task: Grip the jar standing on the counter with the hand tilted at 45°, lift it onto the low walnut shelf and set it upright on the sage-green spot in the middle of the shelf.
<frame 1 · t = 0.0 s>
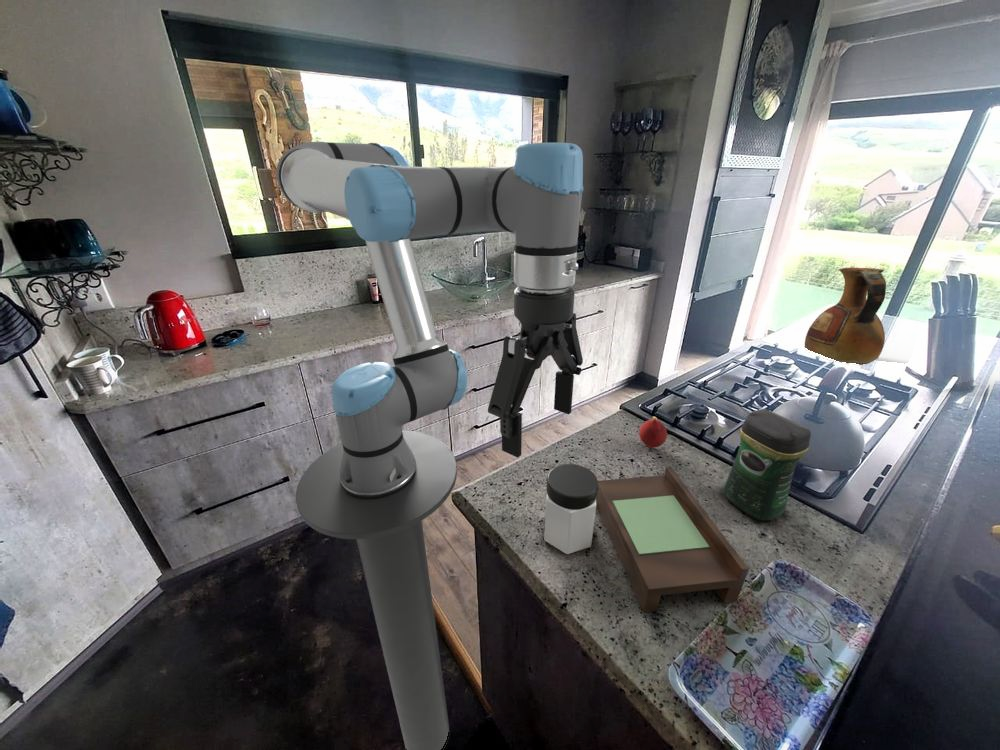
hand: (539, 430, 59), 22 cm above the counter, tool pointing down, fingers open, 13 cm apart
ceramic pitcher: (835, 359, 134), on the counter
onion: (650, 447, 92), on the counter
jar: (567, 534, 70), on the counter
coffee jar: (750, 503, 76), on the counter
shelf: (655, 544, 67), on the counter
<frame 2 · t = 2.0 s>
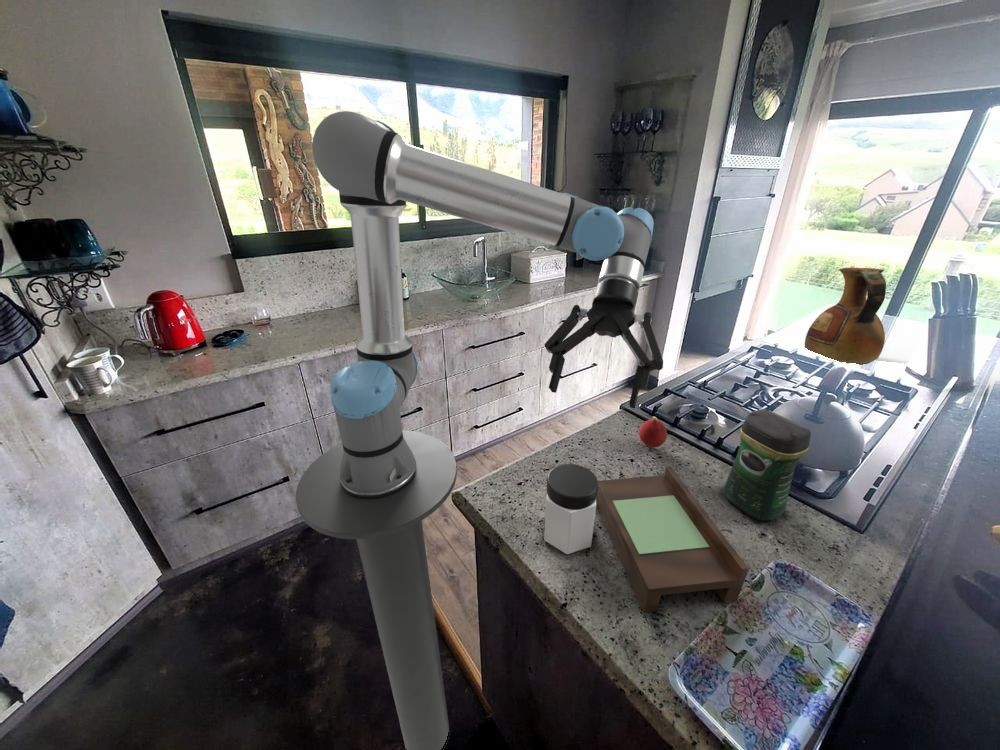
hand: (590, 397, 68), 22 cm above the counter, tool tilted 45°, fingers open, 13 cm apart
nothing on the counter moved.
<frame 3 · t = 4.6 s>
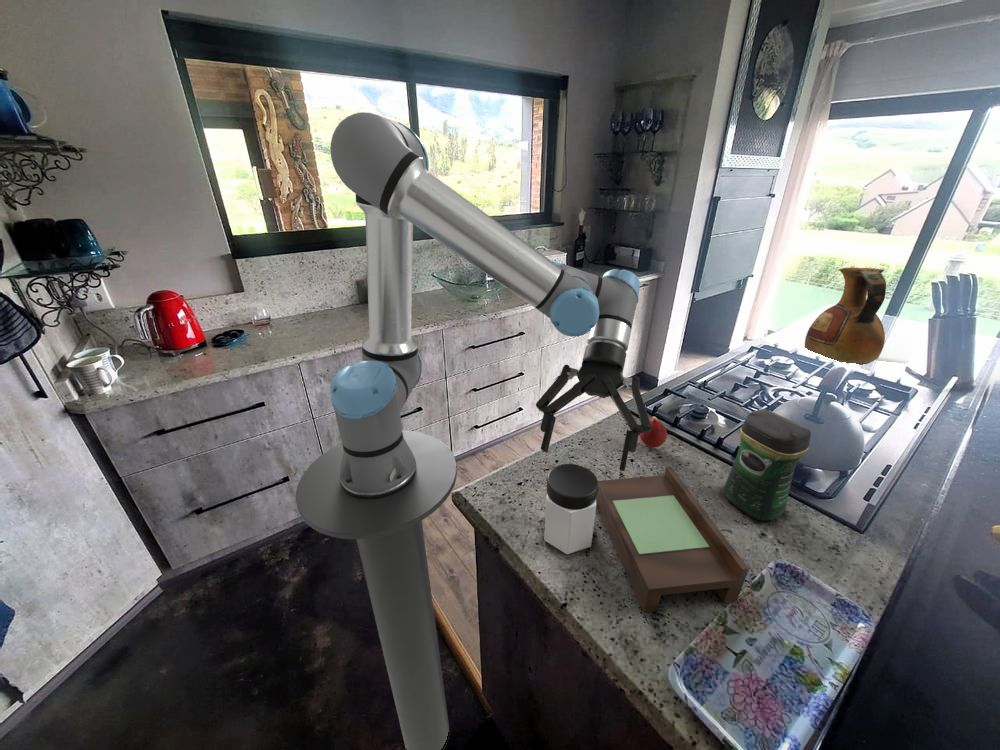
hand: (581, 460, 69), 11 cm above the counter, tool tilted 45°, fingers open, 13 cm apart
nothing on the counter moved.
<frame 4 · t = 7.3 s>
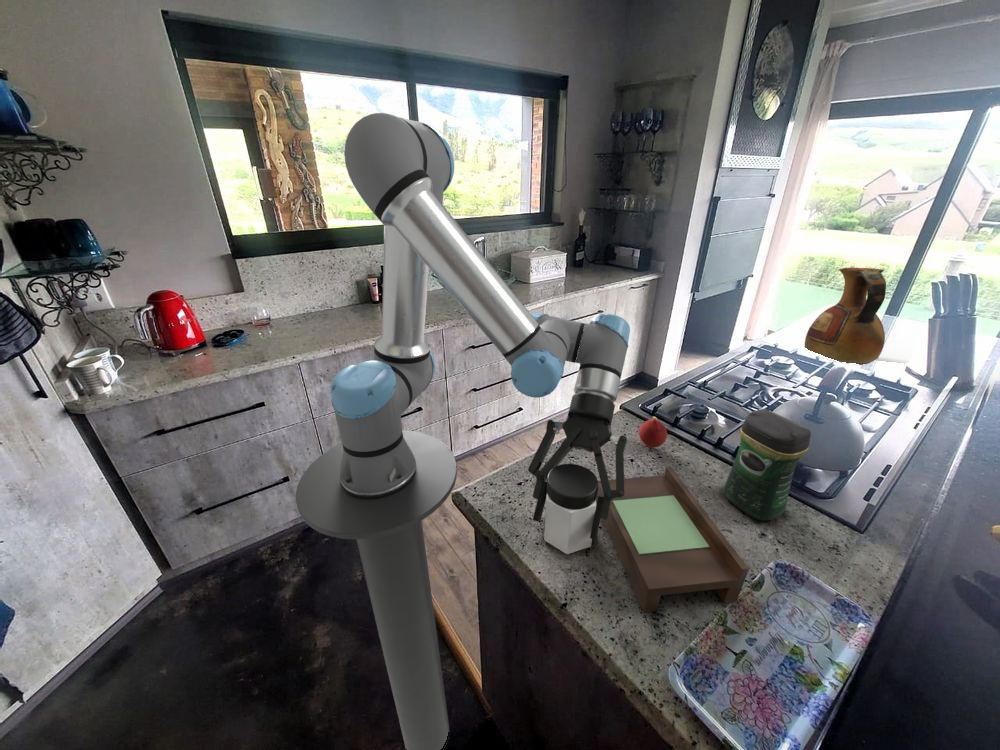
hand: (564, 529, 65), 4 cm above the counter, tool tilted 45°, fingers closed on jar, 9 cm apart
jar: (567, 534, 70), on the counter, touching gripper
everything else where it was.
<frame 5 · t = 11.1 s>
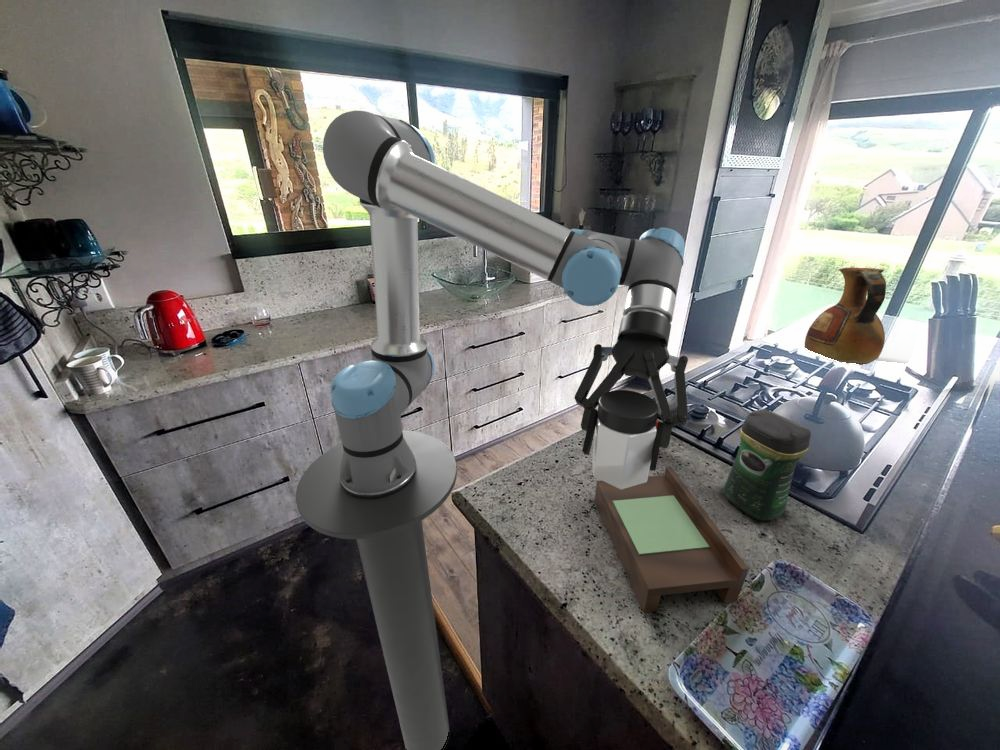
hand: (618, 460, 58), 19 cm above the counter, tool tilted 45°, fingers closed on jar, 9 cm apart
jar: (618, 471, 62), point 14 cm above the counter, touching gripper
everything else where it was.
when the fingers open (9 cm above the counter, at t = 15.2 s): jar stays where it is, resting on shelf.
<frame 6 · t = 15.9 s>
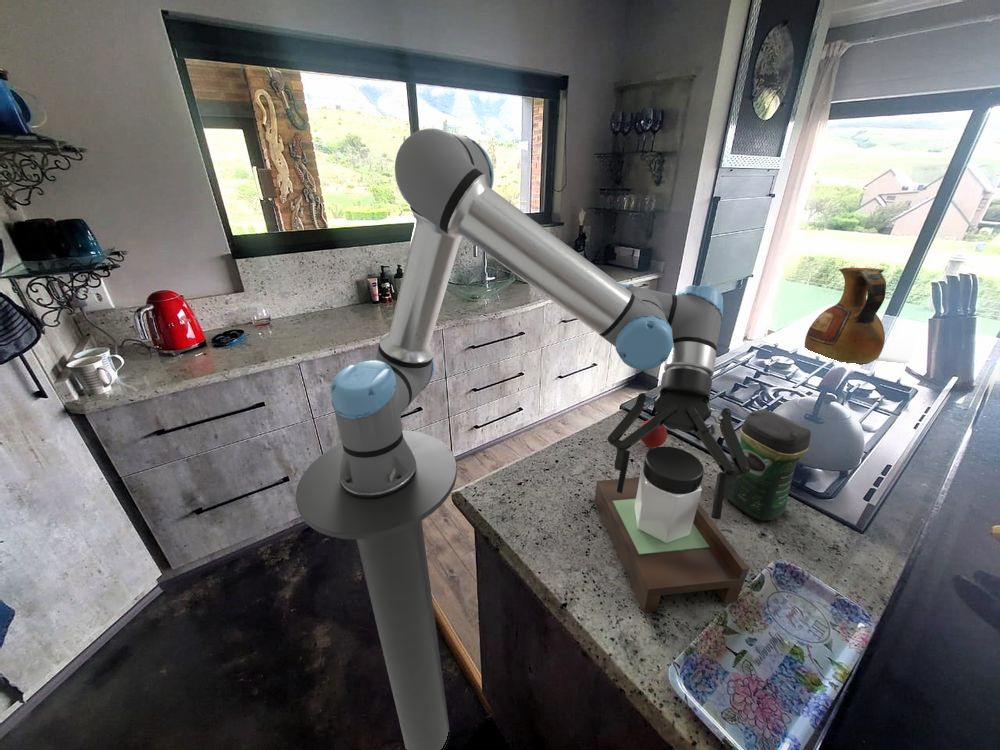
hand: (665, 505, 61), 11 cm above the counter, tool tilted 45°, fingers open, 13 cm apart
jar: (660, 522, 65), point 5 cm above the counter, touching shelf
everything else where it was.
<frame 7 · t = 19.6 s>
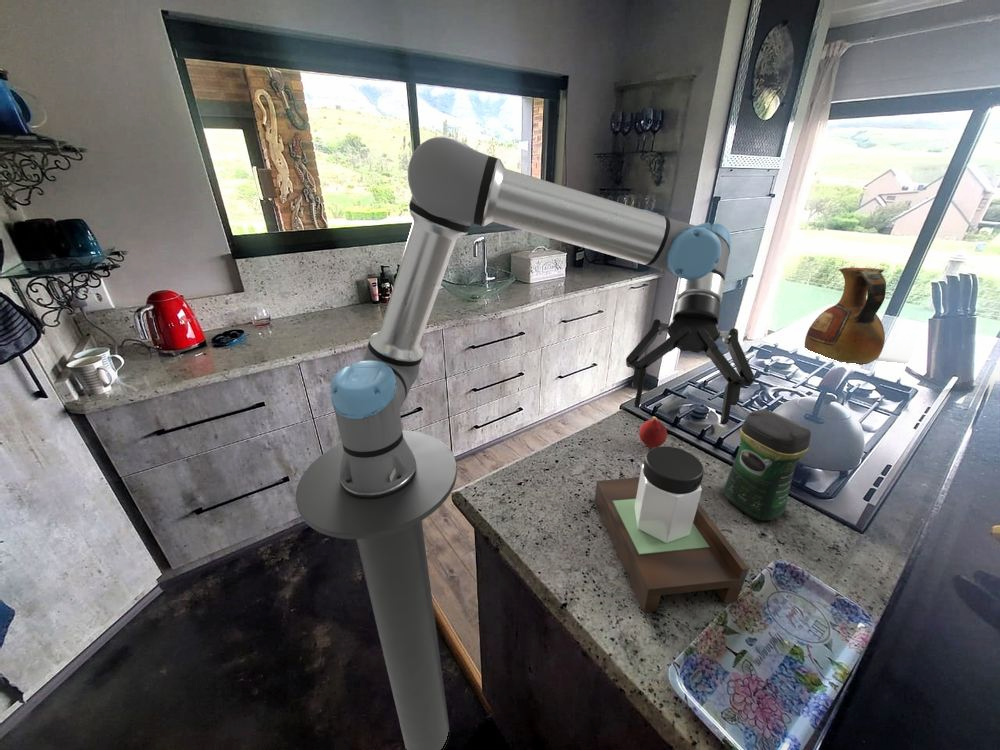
hand: (678, 413, 67), 20 cm above the counter, tool tilted 45°, fingers open, 13 cm apart
nothing on the counter moved.
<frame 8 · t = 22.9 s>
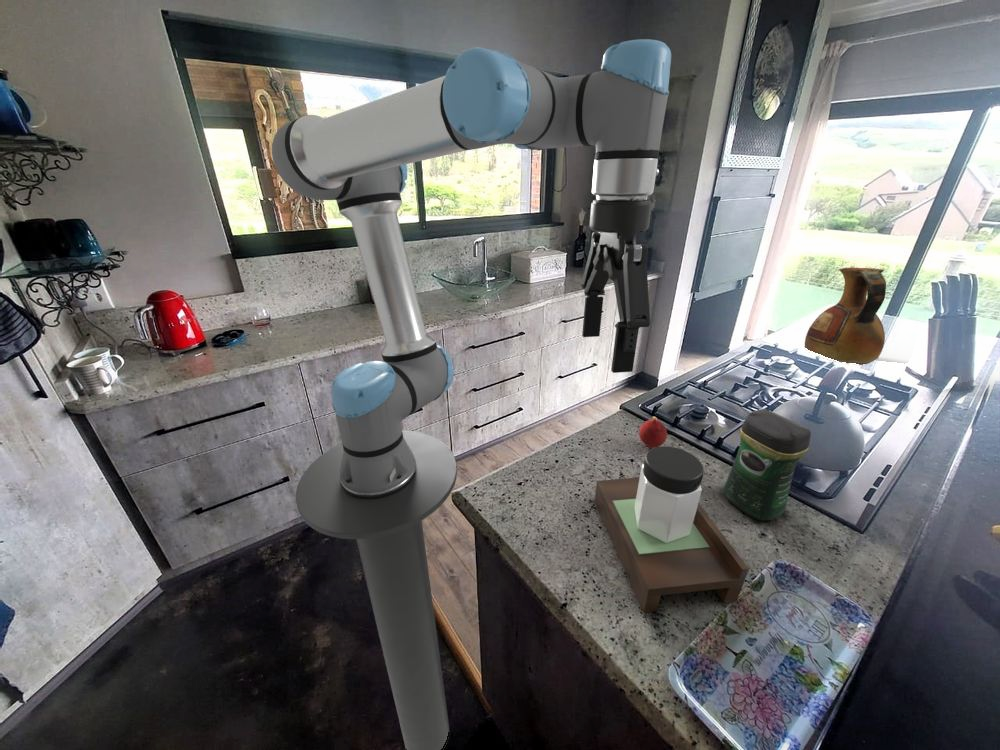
hand: (604, 352, 61), 32 cm above the counter, tool pointing down, fingers open, 13 cm apart
nothing on the counter moved.
at the end: jar inside the target area (0.0 cm from its centre), point 5.0 cm above the counter; jar tilted 0°; the gripper is holding nothing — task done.
